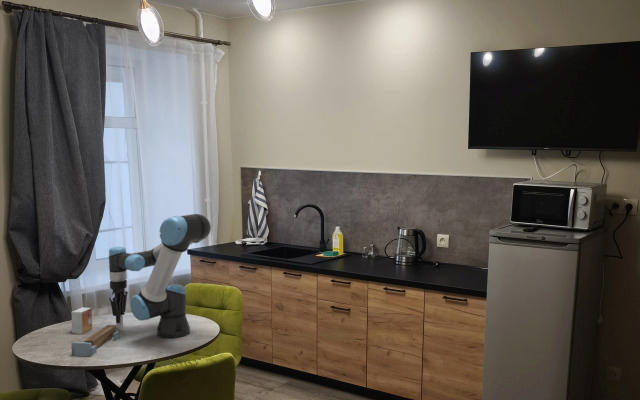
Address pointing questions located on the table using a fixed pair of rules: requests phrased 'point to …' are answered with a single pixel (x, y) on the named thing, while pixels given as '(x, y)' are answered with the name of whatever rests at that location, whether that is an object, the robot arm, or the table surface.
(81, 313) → the small box
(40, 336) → the table surface
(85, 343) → the end cap
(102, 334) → the slat
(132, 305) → the robot arm
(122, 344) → the table surface
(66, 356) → the table surface
